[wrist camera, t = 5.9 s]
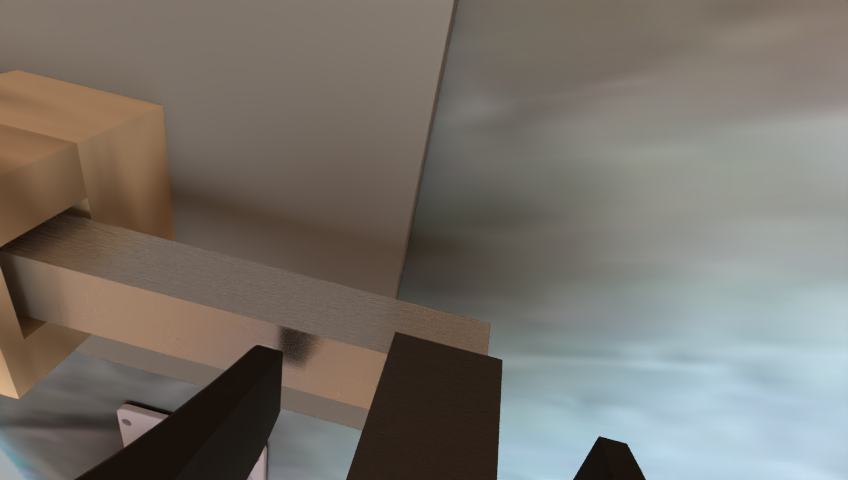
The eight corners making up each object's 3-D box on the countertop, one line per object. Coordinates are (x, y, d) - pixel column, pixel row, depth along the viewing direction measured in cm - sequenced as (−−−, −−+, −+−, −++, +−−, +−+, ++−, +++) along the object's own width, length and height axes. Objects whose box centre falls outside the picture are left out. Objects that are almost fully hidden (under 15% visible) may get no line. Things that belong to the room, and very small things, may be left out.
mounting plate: (373, 414, 23) (367, 431, 22) (14, 316, 24) (-4, 329, 23) (476, -95, 13) (473, -99, 12) (-167, -236, 13) (-214, -249, 13)
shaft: (476, 390, 14) (452, 622, 9) (-16, 258, 15) (-277, 409, 10) (504, 311, 13) (494, 539, 8) (-47, 168, 13) (-376, 294, 8)
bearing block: (177, 258, 19) (19, 399, 13) (55, 226, 19) (-155, 350, 13) (163, 105, 16) (-55, 199, 10) (17, 69, 16) (-281, 139, 10)
